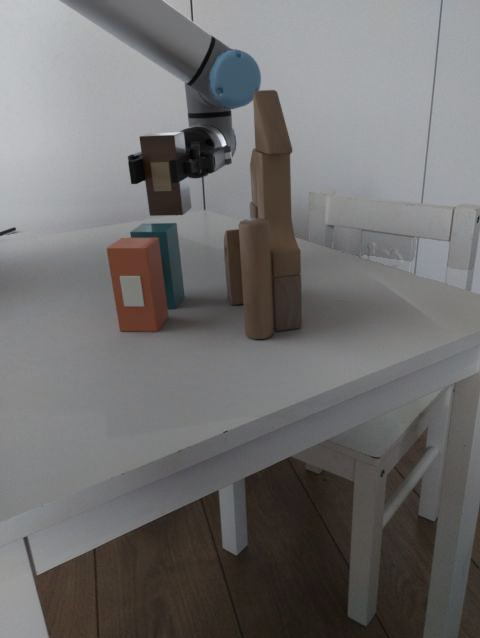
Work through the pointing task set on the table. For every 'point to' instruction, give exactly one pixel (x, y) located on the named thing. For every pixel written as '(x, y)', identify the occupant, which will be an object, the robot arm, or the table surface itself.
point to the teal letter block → (166, 258)
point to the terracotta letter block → (138, 284)
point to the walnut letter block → (164, 174)
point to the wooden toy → (266, 232)
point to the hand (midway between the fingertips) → (153, 172)
